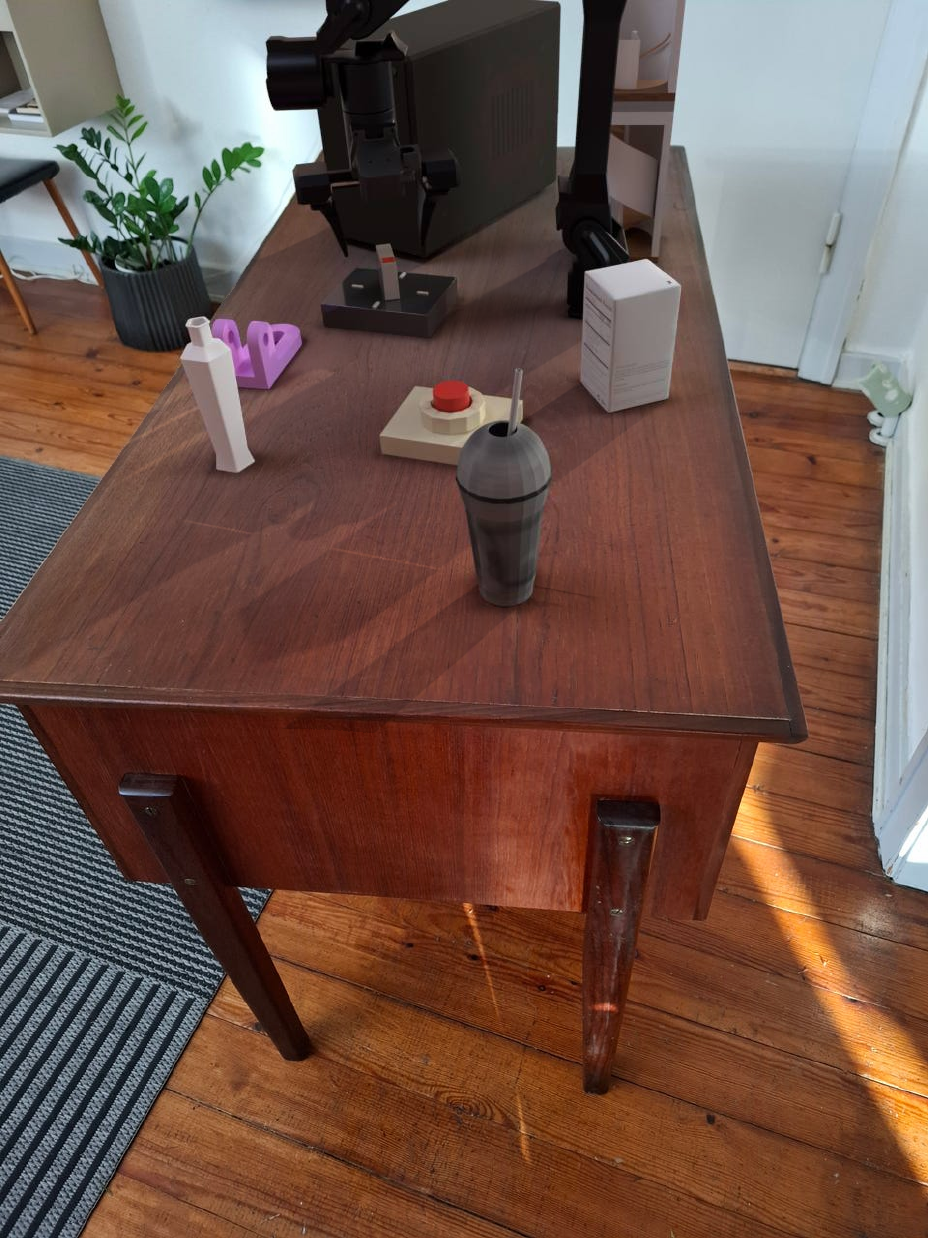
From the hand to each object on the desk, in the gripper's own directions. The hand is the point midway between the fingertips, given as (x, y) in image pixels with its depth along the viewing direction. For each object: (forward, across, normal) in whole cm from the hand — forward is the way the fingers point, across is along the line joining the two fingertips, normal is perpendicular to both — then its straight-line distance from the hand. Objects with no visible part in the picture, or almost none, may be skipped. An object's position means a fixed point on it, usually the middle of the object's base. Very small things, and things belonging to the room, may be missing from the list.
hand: (384, 250), depth 108 cm
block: (+8, +2, -30) cm, 31 cm away
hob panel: (+8, 0, 0) cm, 8 cm away
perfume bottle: (+8, -20, -29) cm, 36 cm away
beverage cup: (+8, +2, -54) cm, 55 cm away
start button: (+4, +2, -30) cm, 31 cm away
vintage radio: (+8, +13, +33) cm, 36 cm away
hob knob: (+5, 0, 0) cm, 5 cm away
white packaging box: (+8, +22, -26) cm, 35 cm away
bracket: (+8, -16, -8) cm, 20 cm away
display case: (+8, +33, +9) cm, 35 cm away
